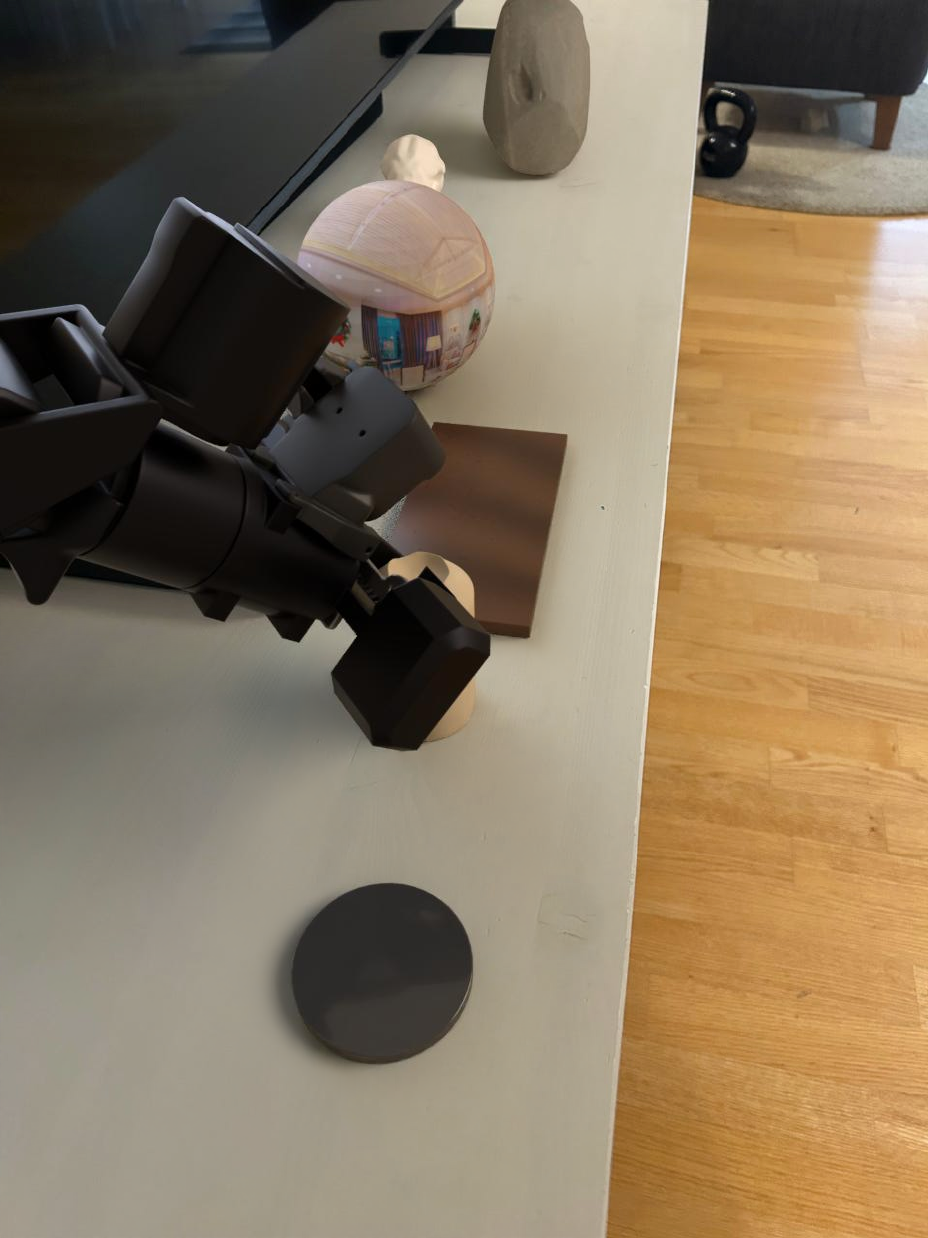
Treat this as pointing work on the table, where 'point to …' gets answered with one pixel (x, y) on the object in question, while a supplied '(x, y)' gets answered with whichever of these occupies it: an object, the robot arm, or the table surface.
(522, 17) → the decorative stone
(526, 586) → the walnut board
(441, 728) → the candle
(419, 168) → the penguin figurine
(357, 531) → the robot arm
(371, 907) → the coaster
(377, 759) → the table surface
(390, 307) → the ornament
